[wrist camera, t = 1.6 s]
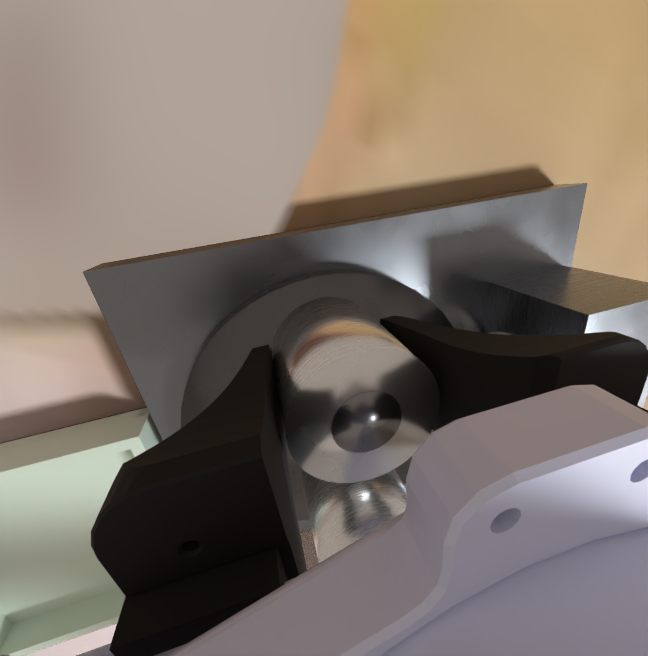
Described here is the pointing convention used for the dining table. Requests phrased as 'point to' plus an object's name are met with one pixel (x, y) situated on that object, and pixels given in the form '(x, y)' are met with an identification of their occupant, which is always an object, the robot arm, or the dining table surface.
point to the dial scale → (358, 292)
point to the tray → (60, 529)
